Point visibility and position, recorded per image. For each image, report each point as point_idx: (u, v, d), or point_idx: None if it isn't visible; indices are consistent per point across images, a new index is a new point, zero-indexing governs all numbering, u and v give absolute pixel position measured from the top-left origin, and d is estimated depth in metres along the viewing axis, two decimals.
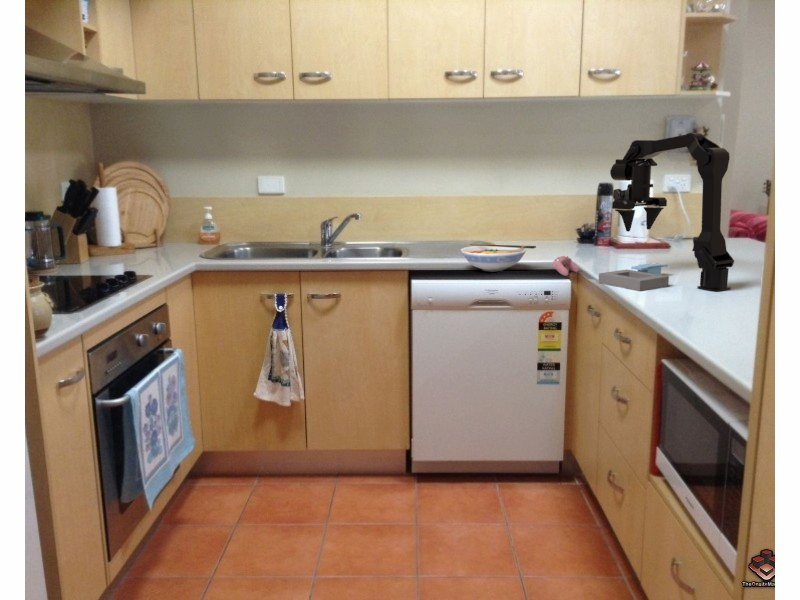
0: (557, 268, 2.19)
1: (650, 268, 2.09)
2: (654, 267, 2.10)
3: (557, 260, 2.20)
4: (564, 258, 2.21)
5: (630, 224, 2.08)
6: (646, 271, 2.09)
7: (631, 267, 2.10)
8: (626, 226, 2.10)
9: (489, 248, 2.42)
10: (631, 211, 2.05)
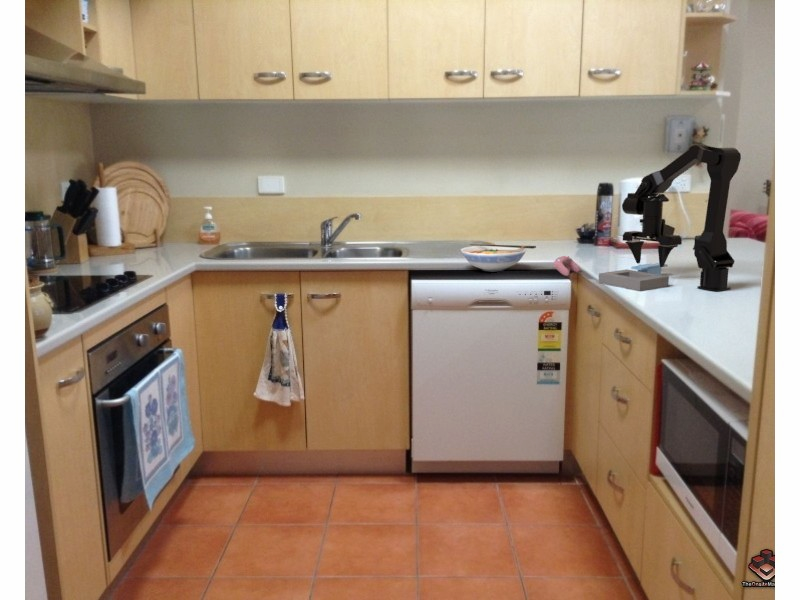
0: (558, 268, 2.19)
1: (650, 268, 2.09)
2: (654, 267, 2.10)
3: (558, 260, 2.20)
4: (565, 258, 2.21)
5: (634, 256, 2.15)
6: (646, 271, 2.09)
7: (631, 267, 2.10)
8: None
9: (489, 248, 2.42)
10: (628, 243, 2.14)
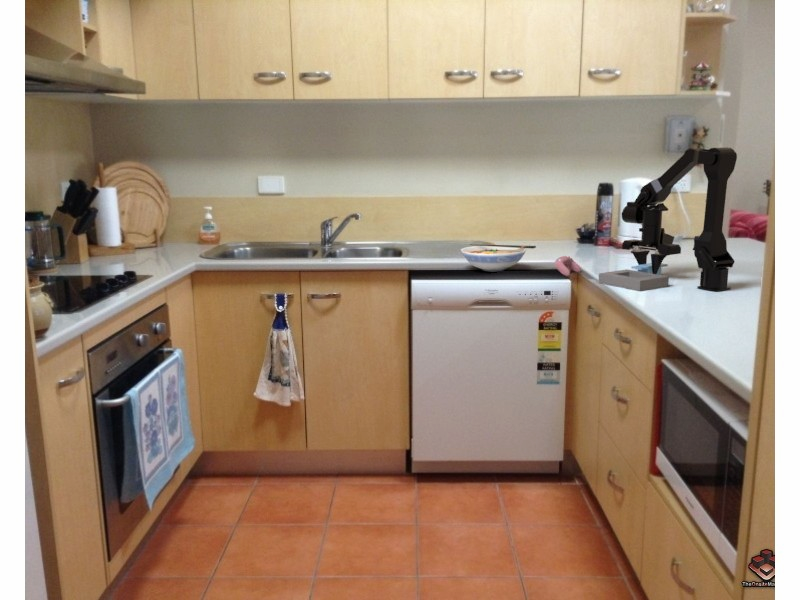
0: (559, 268, 2.19)
1: (650, 268, 2.09)
2: None
3: (559, 260, 2.19)
4: (565, 258, 2.21)
5: None
6: (646, 271, 2.09)
7: (631, 267, 2.10)
8: None
9: (489, 248, 2.42)
10: (633, 252, 2.13)
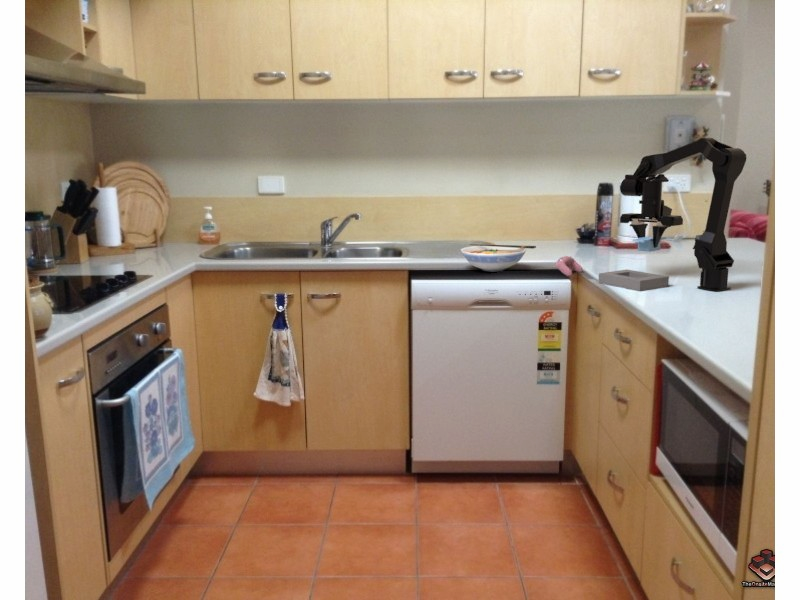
0: (560, 268, 2.18)
1: (651, 240, 2.06)
2: None
3: (560, 260, 2.19)
4: (567, 258, 2.20)
5: None
6: (648, 243, 2.06)
7: None
8: None
9: (489, 248, 2.42)
10: (632, 226, 2.09)
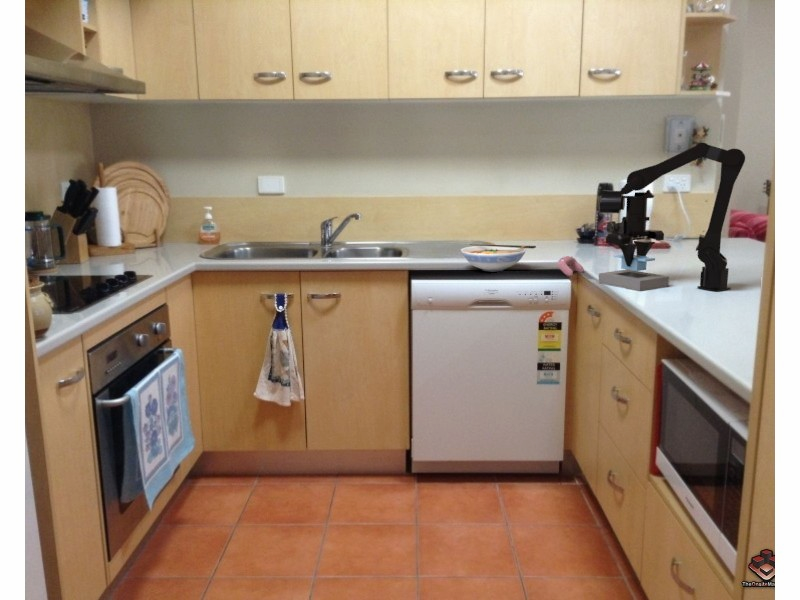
0: (562, 268, 2.18)
1: None
2: None
3: (562, 260, 2.19)
4: (568, 258, 2.20)
5: (631, 259, 1.96)
6: (645, 261, 1.97)
7: (645, 260, 1.93)
8: (626, 261, 1.98)
9: (489, 248, 2.42)
10: (632, 246, 1.93)
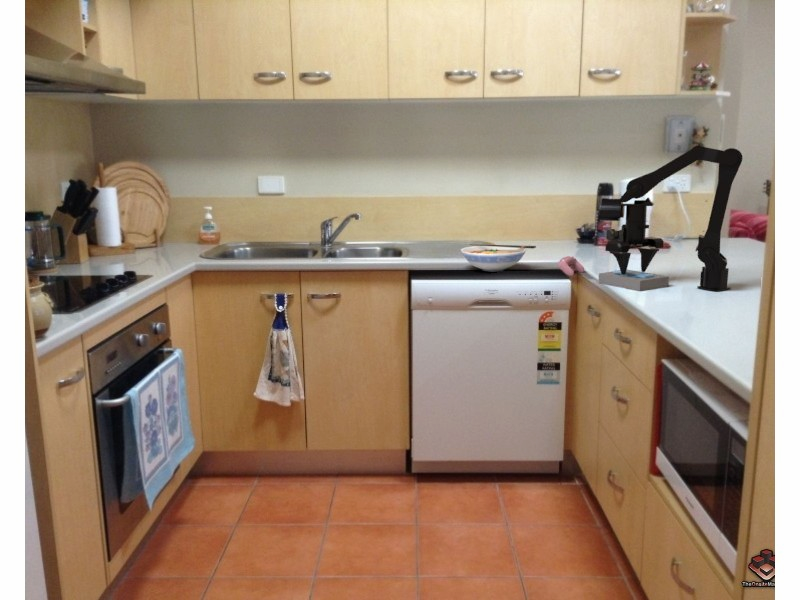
0: (562, 268, 2.18)
1: None
2: None
3: (562, 260, 2.19)
4: (569, 258, 2.20)
5: (625, 267, 1.96)
6: None
7: (645, 276, 1.94)
8: (621, 269, 1.97)
9: (489, 248, 2.42)
10: (626, 254, 1.93)
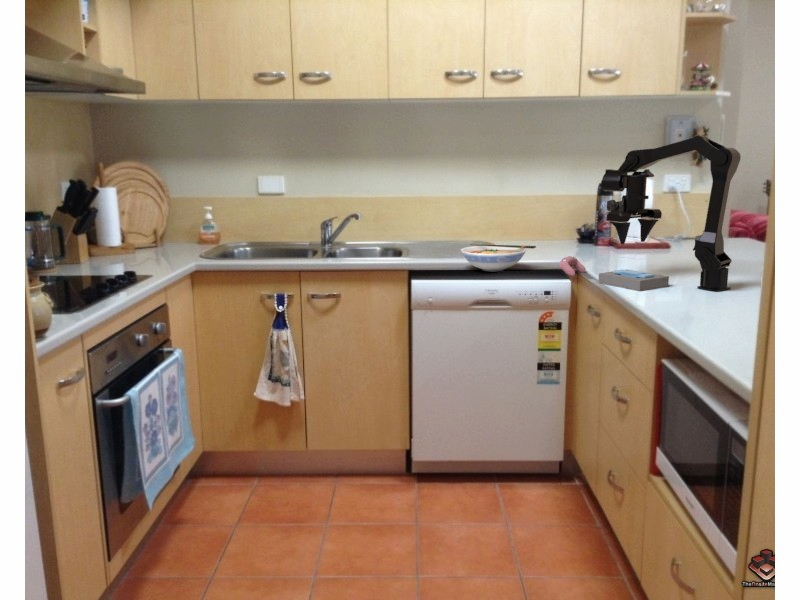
0: (564, 268, 2.18)
1: None
2: None
3: (564, 260, 2.19)
4: (570, 258, 2.20)
5: (625, 237, 2.02)
6: None
7: (644, 276, 1.94)
8: (620, 239, 2.03)
9: (489, 248, 2.42)
10: (626, 224, 1.99)
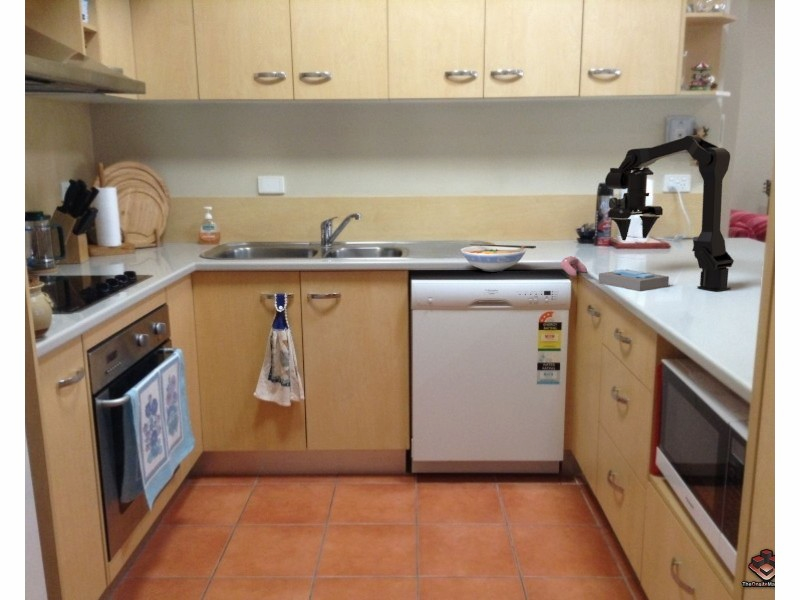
0: (565, 269, 2.18)
1: None
2: None
3: (565, 260, 2.18)
4: (571, 258, 2.20)
5: (626, 233, 2.08)
6: None
7: (644, 276, 1.94)
8: (622, 235, 2.09)
9: (489, 248, 2.42)
10: (627, 220, 2.05)
